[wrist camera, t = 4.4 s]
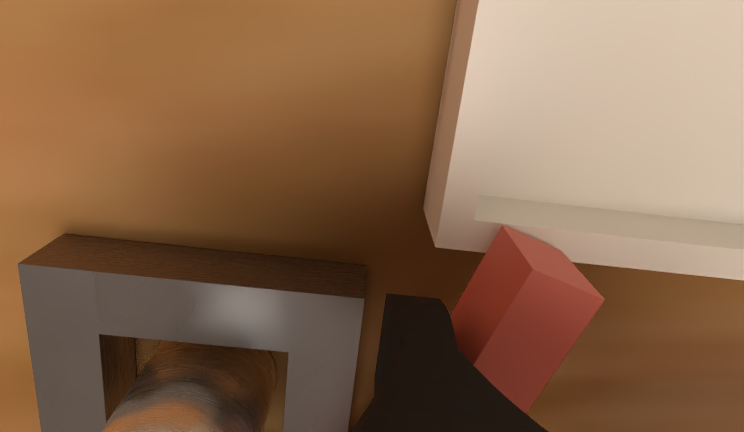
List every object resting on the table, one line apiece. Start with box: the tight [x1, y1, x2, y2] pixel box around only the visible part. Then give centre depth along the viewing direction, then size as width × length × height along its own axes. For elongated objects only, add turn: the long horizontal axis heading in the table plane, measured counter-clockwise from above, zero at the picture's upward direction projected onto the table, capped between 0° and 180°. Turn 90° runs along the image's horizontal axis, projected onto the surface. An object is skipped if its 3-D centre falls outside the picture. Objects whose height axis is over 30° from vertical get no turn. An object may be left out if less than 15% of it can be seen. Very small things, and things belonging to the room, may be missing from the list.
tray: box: [423, 0, 744, 280], centre depth 10 cm, size 9×9×2 cm
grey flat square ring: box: [18, 234, 365, 432], centre depth 14 cm, size 8×8×2 cm
